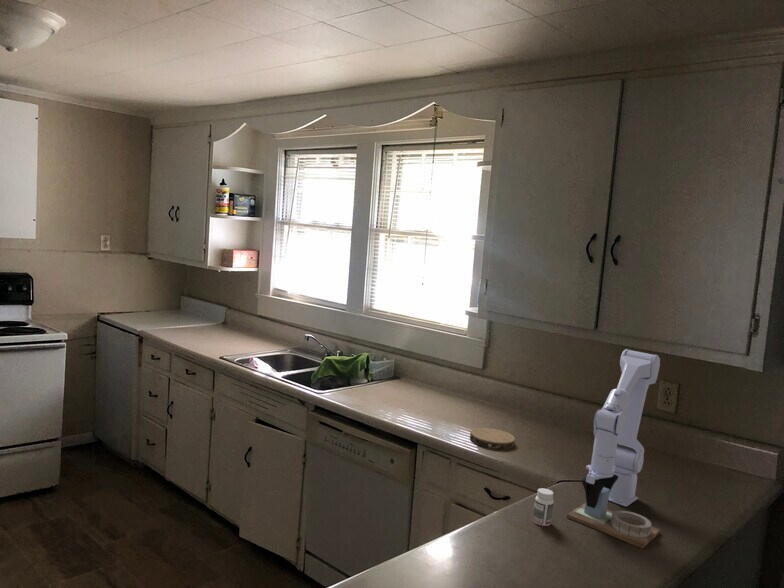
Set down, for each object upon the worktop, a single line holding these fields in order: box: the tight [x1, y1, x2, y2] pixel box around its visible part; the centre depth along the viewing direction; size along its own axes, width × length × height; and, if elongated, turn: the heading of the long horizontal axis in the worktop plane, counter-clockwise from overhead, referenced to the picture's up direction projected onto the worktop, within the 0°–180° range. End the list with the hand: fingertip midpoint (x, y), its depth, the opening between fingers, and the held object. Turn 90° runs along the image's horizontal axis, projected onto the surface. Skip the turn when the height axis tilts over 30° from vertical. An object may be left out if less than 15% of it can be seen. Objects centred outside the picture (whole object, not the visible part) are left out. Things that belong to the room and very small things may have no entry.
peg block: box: [584, 487, 610, 518], centre depth 164 cm, size 4×4×7 cm
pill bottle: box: [532, 487, 555, 527], centre depth 158 cm, size 5×5×8 cm
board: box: [566, 502, 661, 549], centre depth 161 cm, size 13×20×4 cm, turn 48°
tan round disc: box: [469, 427, 516, 451], centre depth 219 cm, size 16×16×3 cm
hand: (596, 503), depth 164 cm, fingers open, 7 cm apart
